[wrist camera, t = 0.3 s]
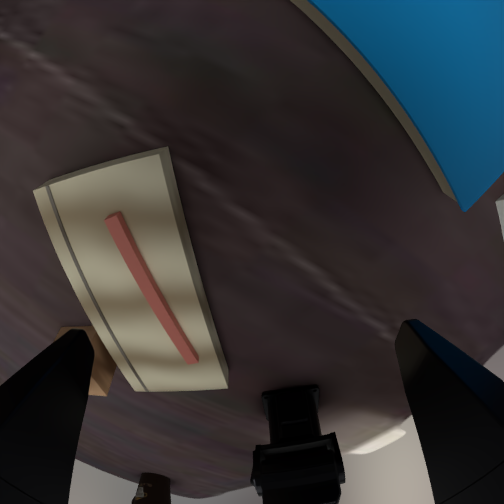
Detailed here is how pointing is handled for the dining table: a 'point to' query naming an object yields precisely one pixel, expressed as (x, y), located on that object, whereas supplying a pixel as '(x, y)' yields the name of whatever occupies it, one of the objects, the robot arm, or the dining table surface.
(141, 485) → the coffee mug
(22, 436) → the robot arm
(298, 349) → the dining table surface
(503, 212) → the crown molding
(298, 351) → the dining table surface
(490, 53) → the book
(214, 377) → the plank
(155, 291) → the carpenter pencil
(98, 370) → the block
